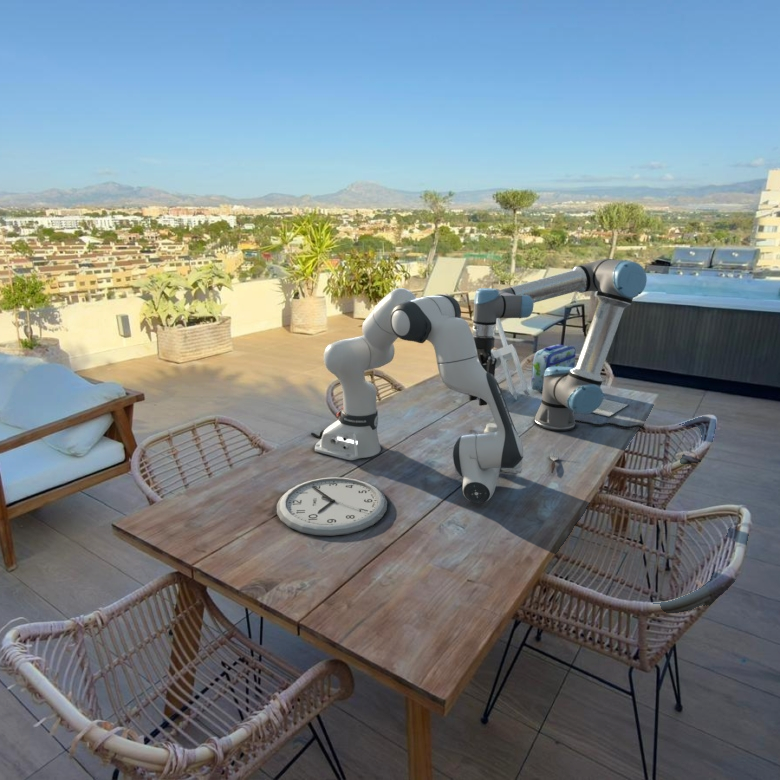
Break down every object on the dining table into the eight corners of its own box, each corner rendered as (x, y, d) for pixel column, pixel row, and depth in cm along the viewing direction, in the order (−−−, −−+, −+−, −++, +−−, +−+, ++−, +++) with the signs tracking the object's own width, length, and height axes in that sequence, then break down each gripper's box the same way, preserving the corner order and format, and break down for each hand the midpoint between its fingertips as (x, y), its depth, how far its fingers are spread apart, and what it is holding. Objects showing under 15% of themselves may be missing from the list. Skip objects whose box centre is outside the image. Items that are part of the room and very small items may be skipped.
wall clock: (392, 527, 129) (268, 531, 127) (391, 533, 130) (269, 537, 127) (383, 473, 158) (282, 475, 155) (383, 478, 158) (282, 480, 156)
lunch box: (547, 397, 237) (552, 352, 231) (526, 391, 245) (531, 348, 238) (574, 386, 255) (580, 344, 249) (554, 381, 262) (559, 340, 256)
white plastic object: (461, 429, 252) (437, 405, 227) (444, 352, 274) (420, 323, 250) (535, 404, 240) (518, 377, 215) (510, 326, 262) (492, 293, 237)
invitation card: (608, 416, 214) (573, 407, 224) (608, 416, 214) (573, 408, 224) (628, 404, 229) (594, 396, 238) (628, 405, 229) (594, 397, 238)
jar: (499, 468, 166) (503, 425, 162) (492, 473, 163) (495, 429, 158) (486, 464, 169) (489, 421, 165) (478, 469, 166) (482, 425, 161)
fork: (547, 473, 163) (548, 467, 163) (550, 454, 177) (551, 448, 177) (556, 475, 162) (556, 469, 162) (558, 455, 177) (559, 449, 176)
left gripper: (522, 464, 149) (525, 445, 161) (451, 453, 154) (459, 437, 167) (520, 484, 151) (523, 464, 163) (450, 473, 156) (458, 455, 169)
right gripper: (458, 331, 179) (454, 396, 186) (490, 342, 164) (484, 412, 171) (476, 330, 183) (471, 393, 190) (509, 340, 167) (503, 409, 174)
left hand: (490, 450), depth 165 cm, fingers closed on jar, 5 cm apart
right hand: (477, 402), depth 180 cm, fingers closed on lid, 5 cm apart
